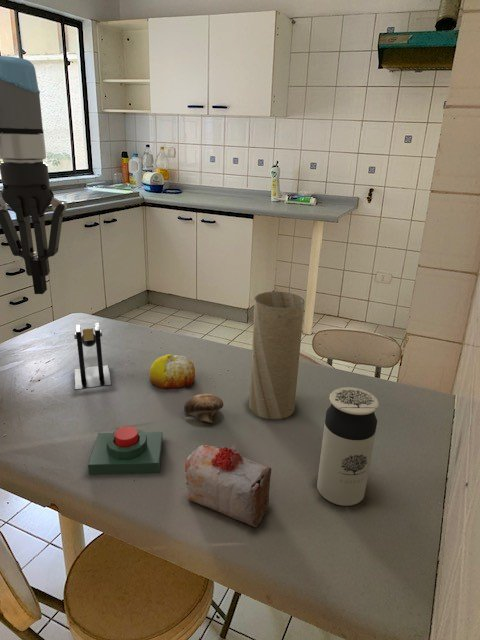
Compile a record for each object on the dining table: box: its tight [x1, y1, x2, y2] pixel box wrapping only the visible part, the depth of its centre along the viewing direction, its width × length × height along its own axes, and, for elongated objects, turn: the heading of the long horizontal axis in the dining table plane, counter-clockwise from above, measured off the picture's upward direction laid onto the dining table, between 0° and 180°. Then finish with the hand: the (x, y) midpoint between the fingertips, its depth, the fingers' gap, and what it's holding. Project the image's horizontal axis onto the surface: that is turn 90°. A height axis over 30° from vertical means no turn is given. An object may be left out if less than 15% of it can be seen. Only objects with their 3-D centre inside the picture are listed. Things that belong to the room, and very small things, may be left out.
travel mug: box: [316, 386, 380, 507], centre depth 75 cm, size 8×8×18 cm
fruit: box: [149, 353, 196, 390], centre depth 109 cm, size 11×10×8 cm
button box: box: [87, 427, 164, 476], centre depth 84 cm, size 12×9×4 cm
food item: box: [184, 444, 272, 529], centre depth 74 cm, size 14×8×10 cm, turn 63°
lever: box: [82, 327, 96, 348], centre depth 110 cm, size 13×4×4 cm, turn 19°
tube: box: [248, 291, 305, 420], centre depth 97 cm, size 10×10×25 cm
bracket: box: [73, 322, 112, 391], centre depth 107 cm, size 10×8×14 cm
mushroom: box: [183, 393, 224, 424], centre depth 96 cm, size 8×8×6 cm
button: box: [115, 425, 138, 447], centre depth 83 cm, size 4×4×2 cm
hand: (40, 291), depth 88 cm, fingers closed
